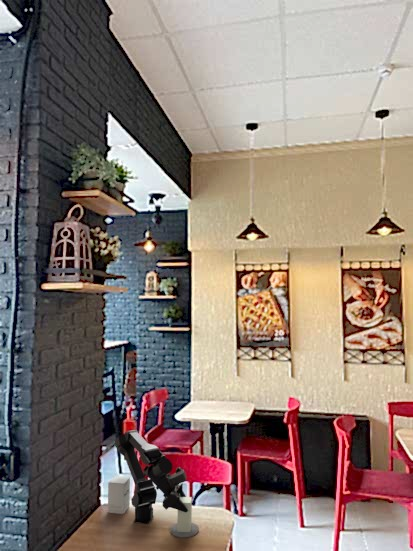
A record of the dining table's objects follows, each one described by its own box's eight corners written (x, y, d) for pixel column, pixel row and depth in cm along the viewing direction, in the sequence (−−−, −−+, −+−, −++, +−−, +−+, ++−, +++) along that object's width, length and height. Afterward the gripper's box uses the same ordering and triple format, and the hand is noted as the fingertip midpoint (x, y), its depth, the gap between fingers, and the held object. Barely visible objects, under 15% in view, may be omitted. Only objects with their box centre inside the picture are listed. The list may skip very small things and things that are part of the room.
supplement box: (123, 514, 189) (123, 483, 190) (107, 512, 190) (107, 482, 191) (130, 506, 196) (130, 477, 197) (114, 505, 197) (114, 475, 198)
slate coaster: (166, 535, 171) (166, 533, 171) (175, 522, 181) (175, 520, 181) (193, 539, 168) (193, 537, 168) (201, 525, 179) (201, 524, 179)
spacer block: (177, 531, 172) (177, 502, 173) (178, 525, 177) (179, 496, 178) (190, 532, 172) (190, 503, 173) (191, 525, 177) (191, 497, 178)
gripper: (171, 472, 167) (200, 503, 166) (177, 456, 186) (203, 483, 185) (150, 493, 167) (179, 525, 166) (158, 475, 186) (184, 503, 185)
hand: (188, 507), depth 175 cm, fingers open, 6 cm apart
